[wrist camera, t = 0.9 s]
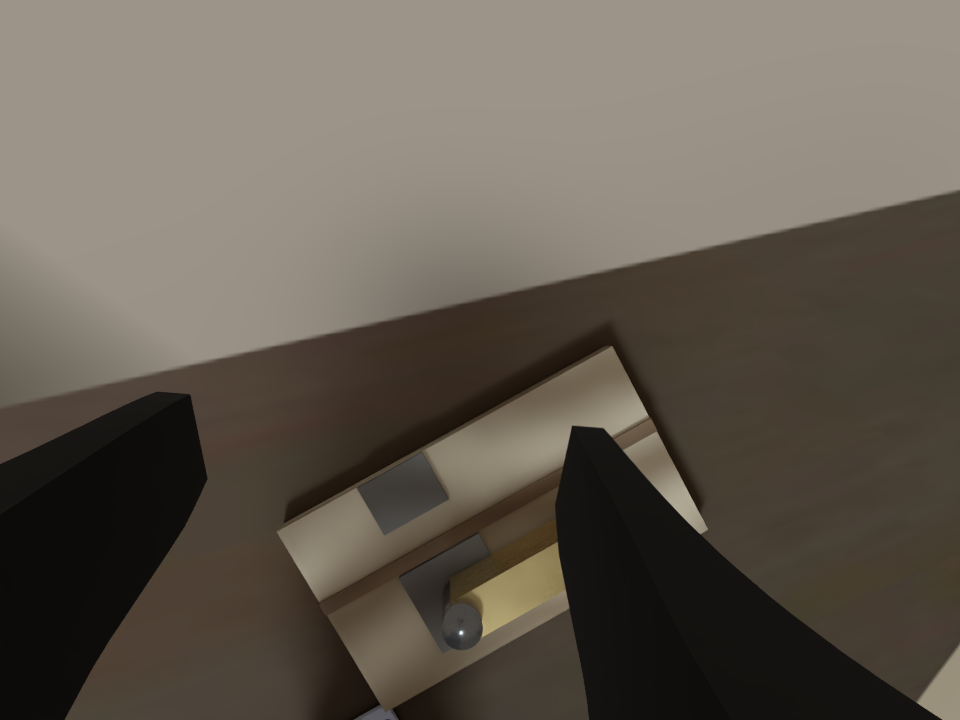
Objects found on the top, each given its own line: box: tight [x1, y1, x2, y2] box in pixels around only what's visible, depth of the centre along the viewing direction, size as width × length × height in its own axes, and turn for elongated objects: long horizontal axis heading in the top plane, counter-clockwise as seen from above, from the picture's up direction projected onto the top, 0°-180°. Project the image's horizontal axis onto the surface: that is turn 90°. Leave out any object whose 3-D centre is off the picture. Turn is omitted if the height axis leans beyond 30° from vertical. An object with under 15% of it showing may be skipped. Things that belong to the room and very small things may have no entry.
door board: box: [277, 346, 708, 713], centre depth 30 cm, size 12×21×2 cm, turn 119°
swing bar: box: [442, 519, 566, 650], centre depth 27 cm, size 10×2×3 cm, turn 119°
